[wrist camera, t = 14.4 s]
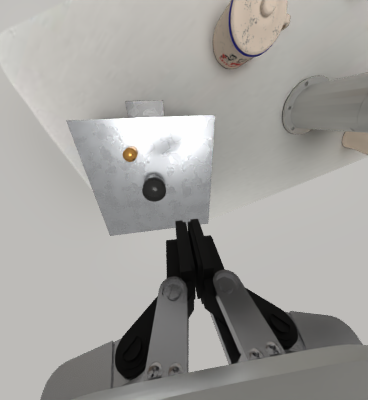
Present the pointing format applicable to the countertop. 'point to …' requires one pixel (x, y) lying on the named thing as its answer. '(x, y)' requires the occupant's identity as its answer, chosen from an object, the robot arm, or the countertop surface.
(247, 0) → the teacup with lid
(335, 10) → the countertop surface
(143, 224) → the cooker lid
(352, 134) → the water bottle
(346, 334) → the robot arm
